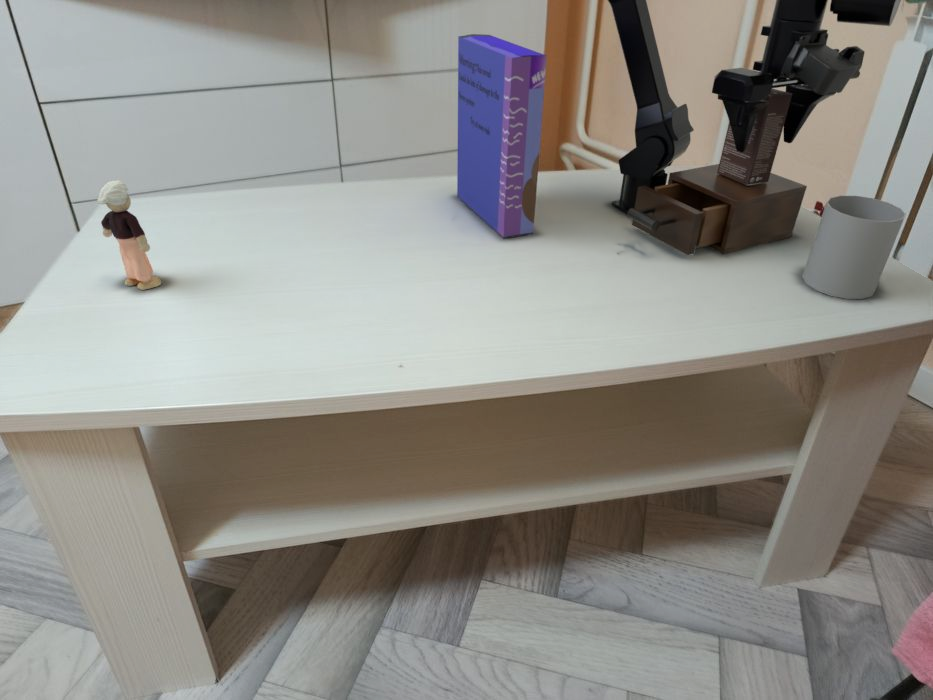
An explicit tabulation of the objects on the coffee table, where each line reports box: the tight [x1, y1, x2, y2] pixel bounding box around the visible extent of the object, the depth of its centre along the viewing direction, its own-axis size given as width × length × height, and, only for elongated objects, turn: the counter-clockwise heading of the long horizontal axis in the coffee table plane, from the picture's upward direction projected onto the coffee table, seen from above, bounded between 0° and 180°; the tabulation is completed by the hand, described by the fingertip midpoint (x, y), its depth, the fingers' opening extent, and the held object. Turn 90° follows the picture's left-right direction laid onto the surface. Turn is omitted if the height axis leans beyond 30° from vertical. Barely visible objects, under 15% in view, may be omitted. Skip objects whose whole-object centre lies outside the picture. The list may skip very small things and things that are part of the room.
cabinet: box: [667, 163, 808, 255], centre depth 96 cm, size 14×13×8 cm
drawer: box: [626, 182, 731, 256], centre depth 92 cm, size 17×11×6 cm
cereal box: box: [456, 33, 547, 239], centre depth 95 cm, size 17×5×24 cm, turn 23°
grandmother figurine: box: [97, 179, 162, 291], centre depth 78 cm, size 8×4×13 cm, turn 71°
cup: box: [801, 195, 906, 300], centre depth 81 cm, size 8×8×10 cm
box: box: [717, 88, 792, 186], centre depth 91 cm, size 6×4×12 cm
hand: (764, 146), depth 90 cm, fingers open, 9 cm apart
